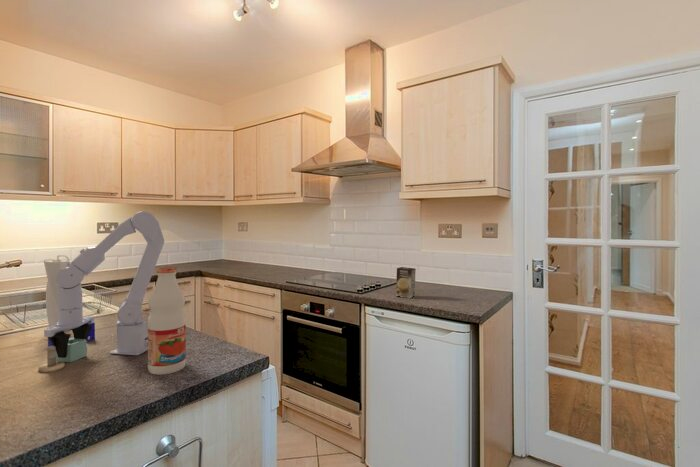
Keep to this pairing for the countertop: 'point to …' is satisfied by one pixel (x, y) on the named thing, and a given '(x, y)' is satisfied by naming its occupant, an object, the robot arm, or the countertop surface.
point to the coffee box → (405, 282)
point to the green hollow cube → (74, 350)
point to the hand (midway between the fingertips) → (71, 353)
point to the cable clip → (91, 334)
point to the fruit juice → (166, 325)
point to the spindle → (51, 361)
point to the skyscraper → (53, 288)
